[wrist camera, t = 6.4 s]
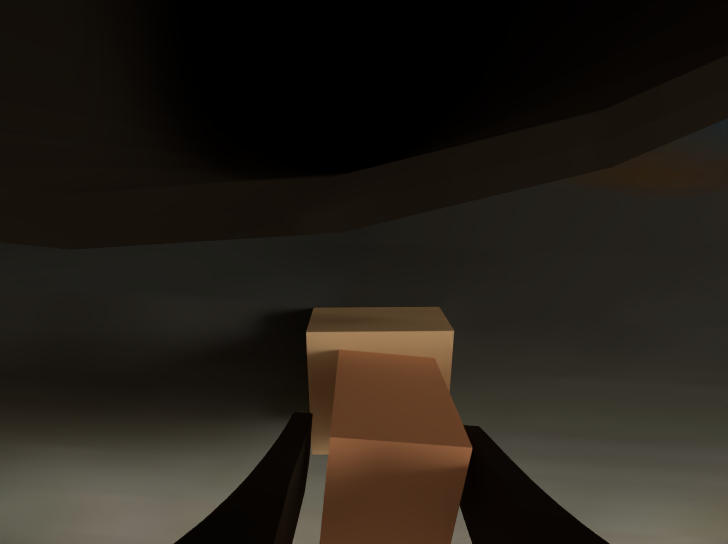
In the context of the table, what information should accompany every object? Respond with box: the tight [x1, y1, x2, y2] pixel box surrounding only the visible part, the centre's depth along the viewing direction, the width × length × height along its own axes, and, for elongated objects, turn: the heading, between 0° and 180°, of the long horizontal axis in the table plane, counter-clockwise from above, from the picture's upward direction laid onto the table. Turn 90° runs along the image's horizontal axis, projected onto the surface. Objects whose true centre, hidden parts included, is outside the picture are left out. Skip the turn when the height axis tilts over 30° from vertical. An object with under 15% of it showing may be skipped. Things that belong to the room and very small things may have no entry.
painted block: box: [320, 350, 472, 544], centre depth 13 cm, size 4×4×5 cm
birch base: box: [306, 307, 454, 454], centre depth 17 cm, size 6×6×3 cm
